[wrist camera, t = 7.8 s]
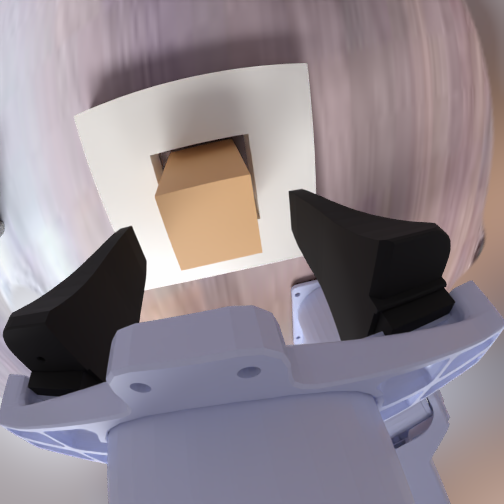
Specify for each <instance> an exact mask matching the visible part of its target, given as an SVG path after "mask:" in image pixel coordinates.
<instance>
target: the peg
mask: <svg viewBox="0 0 504 504" xmlns="http://www.w3.org/2000/svg"><path fill="white" fill-rule="evenodd" d="M155 200H156V203H157V206H158V209H159V212H160V215H161V217H162V220H163V223H164V226H165V229H166V232H167V234H168V237H169V240H170V242H171V245H172V248H173V250H174V253H175V256H176V258H177V261H178V263H179V266H180V268H181V271H182V270H187V269H191V268H196V267H200V266H205V265H209V264H214V263H218V262H223V261H227V260H232V259H236V258H240V257H245V256H249V255H254V254H258V253H263V252H262V245H261V239H260V232H259V226H258V219H257V213H256V207H255V200H254V194H253V188H252V181H251V175H250V173H249V171H248V169H247V167H246V165H245V163H244V161H243V159H242V157H241V155H240V153H239V151H238V149H237V148H236V146H235V144H234V142H233V140H232V138H231V139H226V140H221V141H217V142H212V143H208V144H203V145H199V146H195V147H190V148H186V149H182V150H179V151H175V152H171V153H170V155H169V157H168V160H167V163H166V165H165V168H164V171H163V174H162V176H161V179H160V182H159V185H158V188H157V191H156V194H155Z"/></svg>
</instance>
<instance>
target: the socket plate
mask: <svg viewBox="0 0 504 504" xmlns="http://www.w3.org/2000/svg"><path fill="white" fill-rule="evenodd" d="M74 120H75V123H76V127H77V130H78V134H79V137H80V141H81V144H82V147H83V150H84V153H85V156H86V159H87V162H88V165H89V168H90V171H91V174H92V177H93V180H94V182H95V185H96V188H97V191H98V193H99V196H100V198H101V201H102V203H103V206H104V208H105V211H106V213H107V216H108V218H109V221H110V223H111V225H112V228H113V230H114V232H116V231H118V230H119V229H121V228H124V227H128V226H132V227H133V229H134V232H135V234H136V237H137V239H138V241H139V244H140V246H141V249H142V251H143V253H144V256H145V258H146V260H147V272H146V283H145V289H144V290H148V289H153V288H158V287H163V286H168V285H173V284H177V283H182V282H187V281H192V280H197V279H201V278H206V277H211V276H215V275H220V274H225V273H229V272H234V271H239V270H243V269H248V268H252V267H257V266H262V265H266V264H271V263H275V262H280V261H284V260H288V259H293V258H297V257H302V256H303V254H302V252H301V251H300V249H299V247H298V245H297V243H296V240H295V238H294V235H293V233H292V230H291V218H290V204H289V191H292V190H297V189H304V190H307V191H310V192H312V193H314V194H316V175H315V152H314V134H313V120H312V107H311V95H310V85H309V75H308V66H307V63H294V64H276V65H264V66H254V67H246V68H238V69H231V70H225V71H219V72H213V73H208V74H203V75H198V76H193V77H188V78H184V79H180V80H176V81H172V82H168V83H164V84H160V85H157V86H153V87H150V88H147V89H143V90H140V91H137V92H134V93H131V94H128V95H125V96H122V97H119V98H117V99H114V100H111V101H108V102H106V103H103V104H101V105H98V106H96V107H93V108H91V109H89V110H86V111H84V112H82V113H79V114H77V115H75V116H74ZM237 135H243V138H244V144H245V151H246V157H247V164H248V170H249V173H250V175H251V181H252V188H253V194H254V200H255V207H256V213H257V219H258V226H259V232H260V239H261V245H262V252H263V253H258V254H254V255H249V256H245V257H240V258H236V259H232V260H227V261H223V262H218V263H214V264H209V265H205V266H200V267H196V268H191V269H187V270H182V271H181V268H180V266H179V263H178V261H177V258H176V256H175V253H174V250H173V248H172V245H171V242H170V240H169V237H168V234H167V232H166V229H165V226H164V223H163V220H162V217H161V215H160V212H159V209H158V206H157V203H156V200H155V194H156V191H157V188H158V185H159V182H160V179H161V176H162V174H163V169H162V165H161V161H160V158H159V154H158V153H161V152H165V151H169V150H173V149H177V148H181V147H185V146H189V145H193V144H198V143H202V142H207V141H211V140H216V139H221V138H226V137H232V136H237Z"/></svg>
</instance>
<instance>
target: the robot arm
mask: <svg viewBox="0 0 504 504" xmlns="http://www.w3.org/2000/svg"><path fill="white" fill-rule="evenodd" d="M289 204H290V218H291V230H292V233H293V235H294V238H295V240H296V243H297V245H298V247H299V249H300V251H301V252H302V254H303V256H304V258H305V259H306V261H307V263H308V264H309V266H310V268H311V270H312V271H313V273H314V275H315V277H316V278H317V280H313V281H309V282H305V283H301V284H297V285H294V286H293V287H292V288H291V297H292V320H293V342H294V344H295V345H285V342H284V339H283V336H282V332H281V329H280V326H279V324H278V322H277V321H276V319H275V317H274V316H273V314H272V313H271V312H269V311H266V310H263V309H261V308H258V307H256V306H252V305H248V306H228V307H223V308H218V309H213V310H208V311H203V312H197V313H192V314H187V315H182V316H176V317H171V318H165V319H159V320H153V321H147V322H141V323H139V321H140V313H141V307H142V301H143V295H144V289H145V283H146V272H147V260H146V258H145V256H144V253H143V251H142V249H141V246H140V244H139V241H138V239H137V237H136V234H135V232H134V229H133V227H132V226H128V227H124V228H121V229H119V230H118V231H116V232H115V233H114V234H113V235H112V236H111V237H110V238H109V239H108V240H107V241H106V242H105V243H104V244H103V245H102V246H101V247H100V248H99V249H98V250H97V251H96V252H95V253H94V254H93V255H92V256H90V257H89V258H88V259H87V260H86V261H85V262H84V263H83V264H82V265H81V266H80V267H79V268H78V269H77V270H76V271H75V272H73V273H72V274H71V275H70V276H69V277H68V278H66V279H65V280H64V281H62V282H61V283H60V284H58V285H57V286H56V287H54V288H53V289H52V290H50V291H49V292H47V293H46V294H44V295H43V296H41V297H40V298H38V299H37V300H35V301H33V302H32V303H30V304H28V305H27V306H24V307H23V308H21V309H19V310H17V311H15V312H13V313H12V314H11V315H10V317H9V320H8V322H7V324H6V326H5V328H4V331H3V338H4V341H5V343H6V345H7V346H8V348H9V349H10V350H11V352H12V353H13V354H14V355H15V356H16V357H17V358H18V359H19V360H20V361H21V362H22V363H23V364H24V365H25V366H26V367H27V368H28V369H30V370H31V371H32V372H31V376H30V378H29V377H28V376H25V375H17V374H10V375H9V377H8V380H7V384H6V387H5V391H4V395H3V399H2V403H1V408H0V425H1V426H2V427H4V428H5V429H7V430H8V431H10V432H11V433H13V434H15V435H16V436H18V437H20V438H21V439H23V440H25V441H27V442H29V443H30V444H32V445H34V446H36V447H38V448H41V449H45V450H48V451H52V452H57V453H60V454H64V455H68V456H72V457H77V458H81V459H86V460H90V461H95V462H100V463H106V464H107V480H108V503H109V504H450V501H449V498H448V496H447V493H446V491H445V488H444V486H443V483H442V481H441V478H440V476H439V474H438V471H437V469H436V467H435V464H434V462H433V460H432V456H433V454H434V453H435V451H436V450H437V448H438V446H439V445H440V443H441V441H442V439H443V437H444V436H445V434H446V432H447V430H448V427H449V422H448V420H449V418H450V416H449V414H448V412H447V410H446V408H445V405H444V403H443V402H444V400H443V397H442V395H441V392H440V390H439V389H440V388H442V387H443V386H445V385H446V384H447V383H449V382H450V381H452V380H453V379H455V378H456V377H458V376H459V375H461V374H462V373H463V372H465V371H466V370H468V369H469V368H471V367H472V366H473V365H475V364H476V363H477V362H478V361H479V360H480V359H481V358H482V357H483V355H484V354H485V353H486V352H487V350H488V349H489V348H490V347H491V345H492V344H493V343H494V341H495V340H496V338H497V337H498V336H499V335H500V333H501V332H502V330H503V329H504V319H503V317H502V316H501V315H500V314H499V312H498V311H497V310H496V308H495V307H494V306H493V304H492V303H491V302H490V301H489V300H488V298H487V297H486V296H485V295H484V294H483V292H482V291H481V290H480V289H479V288H478V287H477V286H476V284H475V283H474V282H473V281H468V282H467V283H464V284H462V285H460V286H458V287H456V288H454V289H453V290H452V291H451V292H450V293H448V292H447V291H446V290H445V287H446V285H447V284H446V281H445V280H444V279H443V278H442V274H443V272H444V269H445V266H446V263H447V261H448V258H449V254H450V239H449V236H448V235H447V234H446V233H445V232H444V231H443V230H442V229H441V228H440V227H439V226H438V225H437V224H435V223H427V222H411V221H403V220H395V219H389V218H384V217H380V216H375V215H371V214H367V213H364V212H360V211H357V210H354V209H351V208H348V207H346V206H343V205H340V204H338V203H335V202H333V201H330V200H328V199H326V198H324V197H321V196H319V195H317V194H314V193H312V192H310V191H307V190H304V189H297V190H292V191H289ZM296 293H297V294H296ZM425 398H427V400H428V403H427V401H426V399H425Z"/></svg>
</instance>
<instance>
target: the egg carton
mask: <svg viewBox="0 0 504 504" xmlns="http://www.w3.org/2000/svg"><path fill="white" fill-rule="evenodd" d="M3 233H4V223H3V222H2V221H0V237H1V236H2V234H3Z"/></svg>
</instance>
